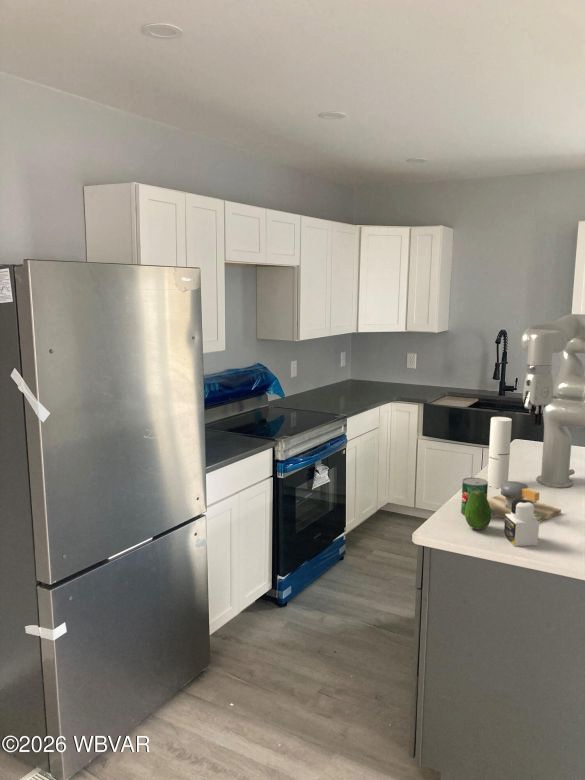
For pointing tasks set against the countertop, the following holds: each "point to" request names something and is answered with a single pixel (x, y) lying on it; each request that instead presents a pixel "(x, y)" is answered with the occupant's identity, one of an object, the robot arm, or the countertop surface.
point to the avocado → (477, 510)
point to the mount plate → (541, 511)
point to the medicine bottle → (521, 524)
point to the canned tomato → (472, 489)
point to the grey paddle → (518, 491)
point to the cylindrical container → (499, 451)
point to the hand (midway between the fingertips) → (535, 424)
